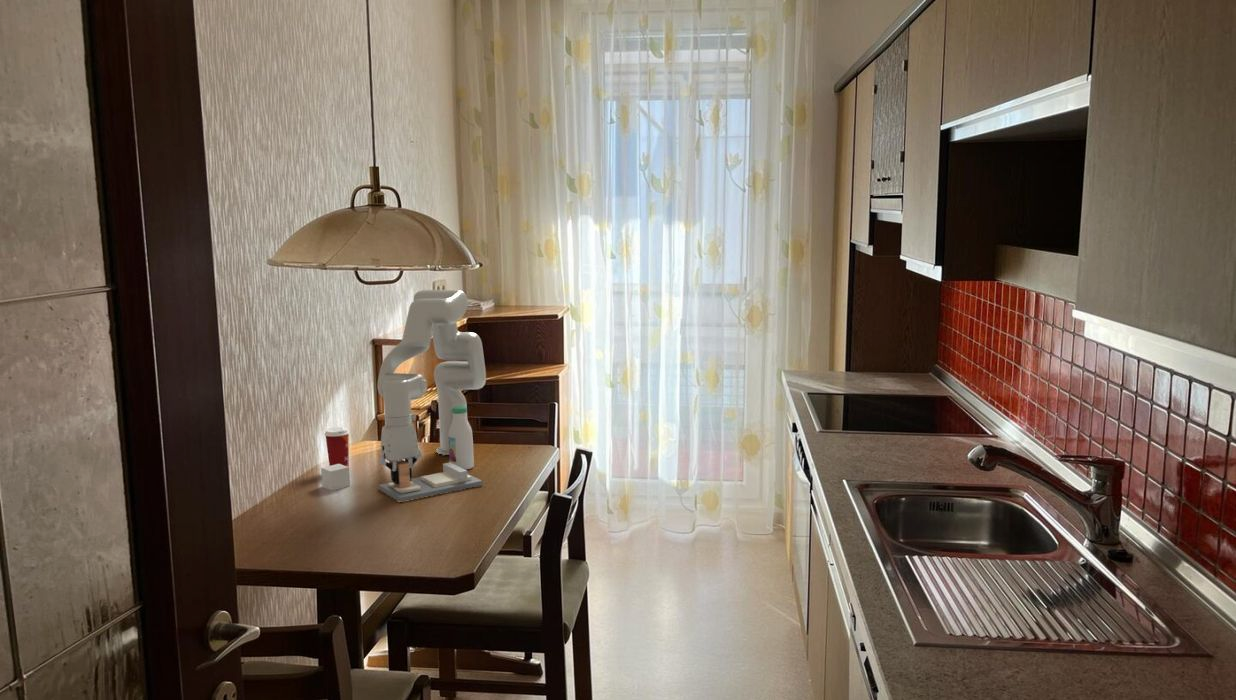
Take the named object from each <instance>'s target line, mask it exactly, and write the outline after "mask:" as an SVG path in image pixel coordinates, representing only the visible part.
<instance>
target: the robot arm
mask: <svg viewBox="0 0 1236 700" xmlns="http://www.w3.org/2000/svg"><path fill="white" fill-rule="evenodd" d="M468 305H469V299H468V296H467V295H466V293H465V292H464V291H463V290H458V289H421V290H420V291H417V292H415V294H414V295H413V301H412V302H411V303H410V305H409V308H408V313H407V316H406V317H407V318H406V322H405V326H404V330H403V335H402V340H401V341H400V342H399V343H398V344H396V346H395V347H393V348H392V349H391V350H390V352H389V353H388V354H387V355H386V356H385V357H384V358H383V360H382V363H381V366H380V370H379V373H378V379H377V390H378V391H377V392H378V394H379V396H381V397H382V398H383V407H384V425H383V426H382V429H381V435H380V456H379V459H378V461H377V462H378V464H379V465H382V466H383V467H384V466H385V467H386V468H387V469H388V470H390V480H391V481H392V482H393V483H395V484H399V475H398V471H397V461H398V460H404V461H406V462H408V463H409V471H410V482H411V479H412V477H413V470H412V469H413V468H414V465H415V463H416V462H417V461H419V460H420V458H422V457H423V453H422V452H421V450H420V448H419V441H418V435H417V432H416V431H417V430H416V427H415V423H413V421H414V420H416V418H417V415H416V414H414V413H413V414H412V403H411V401H412V400H417V399H420V398H422V397H423V396H425V394H426V392H427V390H428V381H427V379H426V378H425V377H424V376H423V375H422V374H419V373H400V372H398V373H396V370H397V368H398V367H400V365H401V364H403V363H404V362H406V361H409V360H410V359H413V358H415V357H418V356H420V355H422V354H424V353H425V352H427V351H428V350H429V348H430V347H431V342H433V347H434V352H435V355H436V357H437V358H438V359H440V360H444V361H443V362H440V363H438V364H436V366H435V368H434V371H433V379H434V381H435V382H434V384H435V386H436V391H437V402H438V403H437V404H438V419H439V421H438V422H439V444H440V446H439V447H436V449H435V453H436V452H437V453H438V454H437V453H436V454H437V455H439V454H442V455H441V456H445V455H449V429H450V426H451V423H452V420H453V414H452V408H453V407H457V406H464V407H466V408H467V409H468V407H467V405H468V403H467V399H466V397H465V395H464V394H463V392H462V391H461V390H480V389H482V388H483V387H484V386H485V385H486V382H487V371H486V370H487V369H486V363H485V356H484V348H483V342H482V338H481V337H480V336H479V334H477V333H475V332H471V331H465V332H464V331H463V332H462V331H459V330H458V325H457V323H458V321H459V320H460V319H461V318H462V317H463V316H464V315H465V314H466V312H467V309H468ZM432 340H433V341H432ZM466 417H467V418H468V413H467V414H466Z"/></svg>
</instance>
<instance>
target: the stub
mask: <svg viewBox="0 0 1236 700" xmlns="http://www.w3.org/2000/svg"><path fill="white" fill-rule="evenodd" d="M397 471H398V475H399V484H395V483H393V481H392V482H388V486H390V487H392V488H393V489H395V490H396V491H398V492H400V493H401V494H402V493H407V492H412V491H417V490H421V487H420V486H418V485H417V484H415V483H413V482H410V471H409V463H408V462H406V461H405V459H402V460H397Z"/></svg>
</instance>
